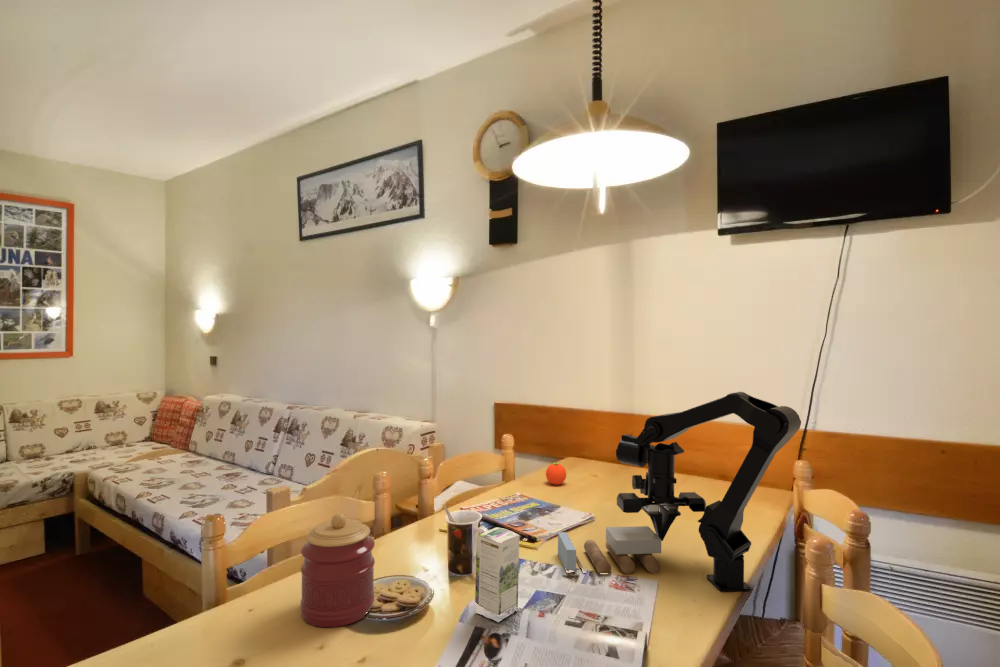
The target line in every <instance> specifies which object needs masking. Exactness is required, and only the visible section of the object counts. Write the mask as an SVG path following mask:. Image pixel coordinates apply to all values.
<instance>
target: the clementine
mask: <svg viewBox="0 0 1000 667" xmlns="http://www.w3.org/2000/svg"><path fill="white" fill-rule="evenodd" d="M545 476H546V479H547V481H548V482H549V483H550V484H551V485H555V486H557V485H561V484H563V483H564V482H565V481H566V478H567V470H566V468H565V467H564V465H562V464H560V463H558V462H554V463H553V462H552V463H551V464H550V465H548V467H547V468H546V470H545Z"/></svg>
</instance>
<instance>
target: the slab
mask: <svg viewBox="0 0 1000 667" xmlns="http://www.w3.org/2000/svg"><path fill="white" fill-rule="evenodd" d="M606 541H607V542H608V544H609V545H610V546H611V548H612V549H613V551H614V552H615V553H616V554H628V555H635V554H652V555H654V554H662V541H661V539H660V538H659V537H658V536H657V535H656V532H655V530H652V528H651V527H650V526H649V525H648V526H647V525H643V526H641V525H640V526H607V527H605V542H606Z"/></svg>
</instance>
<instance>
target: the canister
mask: <svg viewBox="0 0 1000 667" xmlns="http://www.w3.org/2000/svg"><path fill="white" fill-rule="evenodd" d="M370 534H371V529H370V527H369V526H367V525H366V524H364V523H362V522H361V521H359V520H357V519H353V518H346V516H345V515H344V514H343V513H336V514H333V516H332V517H331V519H330V520H326V521H323V522H321V523H319V524H317V525H316V526H315V527H314V528H312V529H311V530H309V531H308V532H307V534H306V535H305V540H306V542H305V543H304V544H303V545H302V546H301V549H300V554H301V555H302V557H303V563H302V564H301V567H300V572H301V599H300V611H301V617H302V619H303V620H304V621H305V622H306V623H307V624H308V625H309V624H310V625H312V626H315V627H321V628H337V627H344V626H347V625H351V624H353V623H356V622H358V621H360V620H362V619H364V618H365V617H366V616H364V614H365V613H366V612H367V611H369V610H370V608H371V606H372V604H373V605H374V601H375V589H374V576H375V574H374V570H375V569H374V568H375V567H374V565H375V562H376V561H375V557H374V556H373V553H372V552H373V550H374V547H375V543H376V542H375V540H374V539H373V537H371V536H370Z"/></svg>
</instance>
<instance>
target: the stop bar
mask: <svg viewBox="0 0 1000 667" xmlns="http://www.w3.org/2000/svg"><path fill="white" fill-rule="evenodd" d="M572 541H573V540H572V539H571V538H570V536H569V534H568V532H567V531H565V532H562V531H561V532H559V531H558V533H557V555H558V558H559V560H560V562H561V564H562V567H563V568H564V567H565V568H566V570H567V571H569V570H576V571H577V562H576V555H577V548H576V547H575V545H574V543H573V542H572Z"/></svg>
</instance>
